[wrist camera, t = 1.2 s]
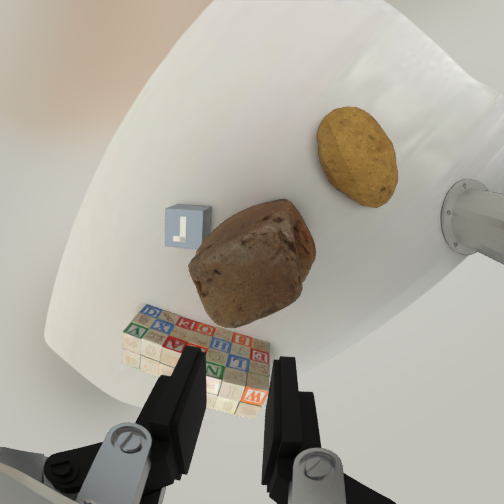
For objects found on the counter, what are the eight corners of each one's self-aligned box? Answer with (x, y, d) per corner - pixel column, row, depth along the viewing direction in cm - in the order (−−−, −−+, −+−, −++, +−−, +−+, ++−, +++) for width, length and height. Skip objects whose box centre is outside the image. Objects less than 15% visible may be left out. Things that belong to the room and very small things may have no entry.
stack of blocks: (143, 332, 46) (112, 374, 34) (146, 303, 45) (112, 341, 33) (259, 369, 46) (255, 421, 35) (271, 341, 45) (269, 392, 33)
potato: (350, 226, 30) (422, 197, 27) (301, 113, 28) (376, 87, 25) (340, 215, 39) (397, 192, 36) (302, 128, 37) (360, 106, 34)
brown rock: (240, 267, 42) (214, 343, 22) (216, 221, 40) (167, 264, 21) (309, 236, 40) (342, 293, 20) (287, 187, 38) (303, 199, 19)
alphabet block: (211, 206, 40) (202, 211, 35) (209, 240, 41) (201, 250, 36) (177, 204, 40) (165, 208, 35) (176, 238, 41) (164, 246, 36)
